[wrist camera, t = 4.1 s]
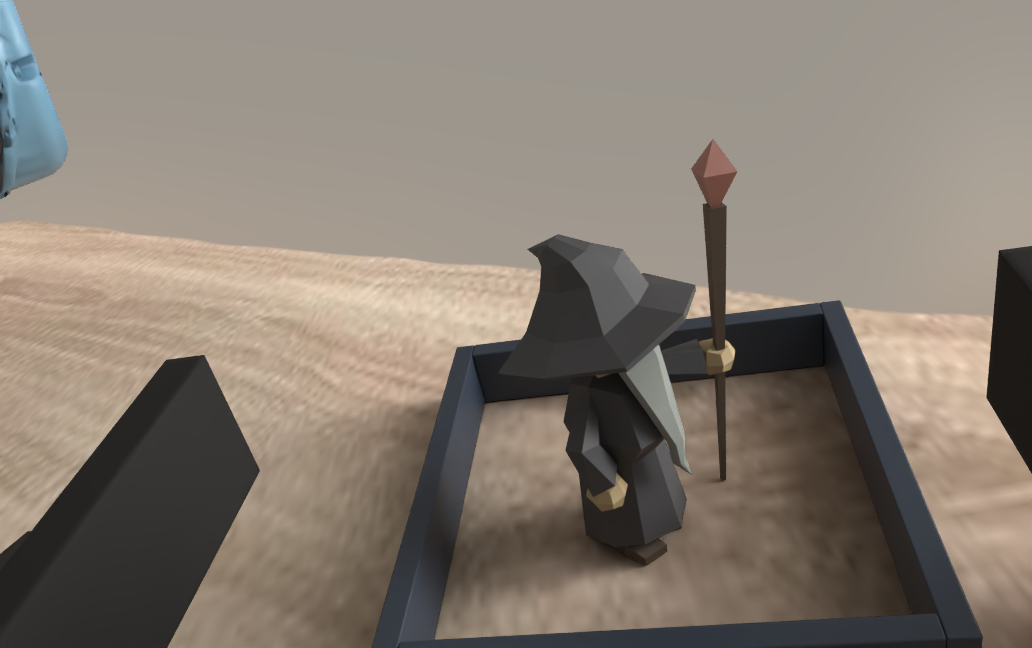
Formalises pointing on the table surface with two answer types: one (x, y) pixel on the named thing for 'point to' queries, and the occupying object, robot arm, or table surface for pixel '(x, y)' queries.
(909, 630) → the dark grey square frame
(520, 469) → the table surface
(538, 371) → the wizard figurine
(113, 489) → the robot arm
